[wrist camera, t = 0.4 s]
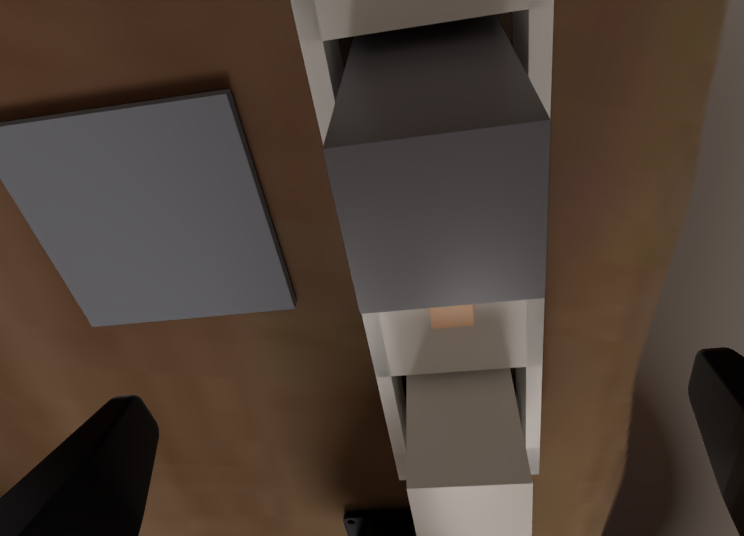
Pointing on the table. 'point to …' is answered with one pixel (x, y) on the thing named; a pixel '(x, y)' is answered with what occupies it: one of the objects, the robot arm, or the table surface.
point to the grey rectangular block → (440, 168)
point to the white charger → (466, 455)
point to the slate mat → (149, 209)
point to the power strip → (451, 323)
